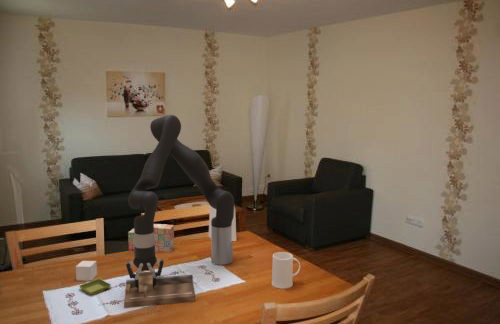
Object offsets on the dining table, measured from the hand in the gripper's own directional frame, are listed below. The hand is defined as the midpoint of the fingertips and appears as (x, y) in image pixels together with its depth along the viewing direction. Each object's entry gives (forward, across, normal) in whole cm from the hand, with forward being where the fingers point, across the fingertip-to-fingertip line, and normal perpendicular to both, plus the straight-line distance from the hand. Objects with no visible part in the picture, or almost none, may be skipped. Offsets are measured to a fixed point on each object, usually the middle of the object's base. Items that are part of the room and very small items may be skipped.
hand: (145, 286), depth 150 cm
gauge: (+1, 0, +3) cm, 3 cm away
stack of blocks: (+3, -1, -48) cm, 48 cm away
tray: (+3, -5, +2) cm, 6 cm away
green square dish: (+3, +19, -8) cm, 21 cm away
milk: (+3, -38, -56) cm, 68 cm away
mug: (+3, -55, +2) cm, 55 cm away
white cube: (+3, +24, -20) cm, 32 cm away
